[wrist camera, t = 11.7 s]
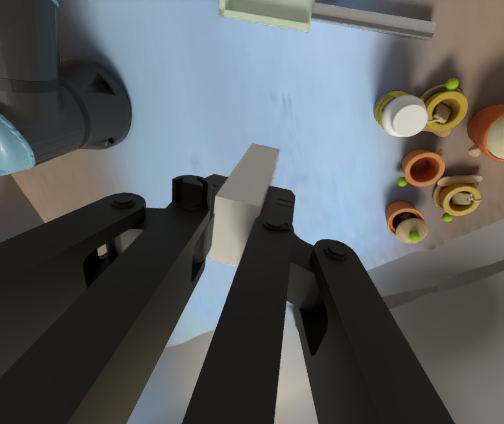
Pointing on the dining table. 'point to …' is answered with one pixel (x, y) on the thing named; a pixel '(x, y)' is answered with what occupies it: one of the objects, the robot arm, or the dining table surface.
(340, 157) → the dining table surface
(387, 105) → the supplement bottle
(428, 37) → the slot rails
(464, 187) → the toy tea set
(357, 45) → the dining table surface
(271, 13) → the tray
